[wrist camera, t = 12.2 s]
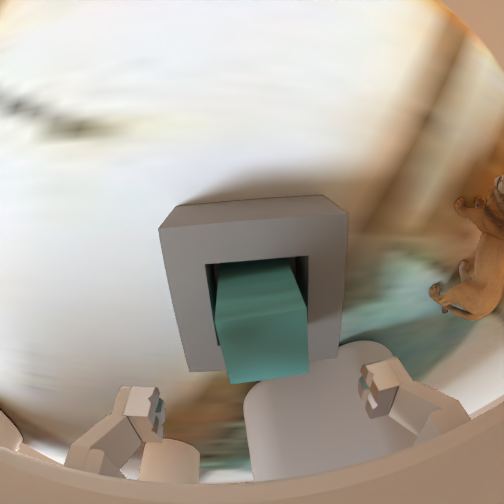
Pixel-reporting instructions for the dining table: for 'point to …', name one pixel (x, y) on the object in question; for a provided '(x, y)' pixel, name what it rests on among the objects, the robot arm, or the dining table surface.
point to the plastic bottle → (319, 418)
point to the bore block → (255, 248)
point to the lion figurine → (479, 260)
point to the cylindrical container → (170, 462)
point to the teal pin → (261, 321)
